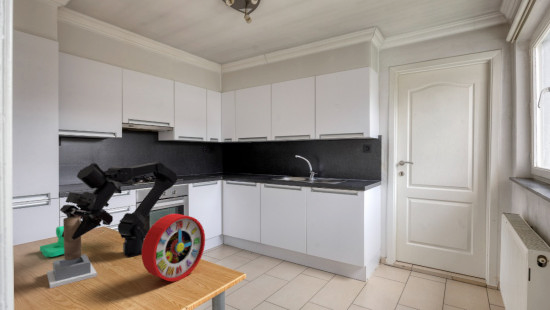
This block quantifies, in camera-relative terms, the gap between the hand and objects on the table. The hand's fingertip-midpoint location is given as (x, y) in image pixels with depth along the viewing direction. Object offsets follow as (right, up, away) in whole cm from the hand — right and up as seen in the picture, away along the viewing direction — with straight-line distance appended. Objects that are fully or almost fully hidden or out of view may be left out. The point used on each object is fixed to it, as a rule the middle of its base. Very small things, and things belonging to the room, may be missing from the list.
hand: (67, 238), depth 89 cm
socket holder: (-2, -13, +4) cm, 14 cm away
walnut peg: (+1, -7, +2) cm, 7 cm away
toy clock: (+32, -14, +4) cm, 35 cm away
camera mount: (-21, -13, +23) cm, 34 cm away
